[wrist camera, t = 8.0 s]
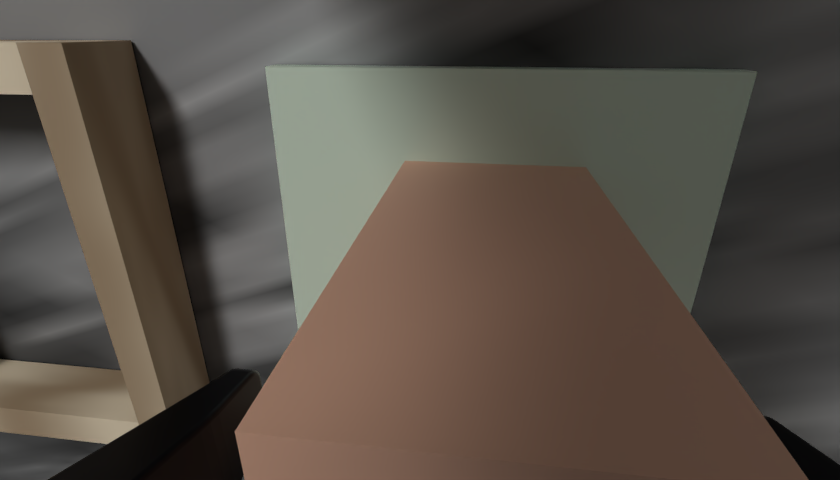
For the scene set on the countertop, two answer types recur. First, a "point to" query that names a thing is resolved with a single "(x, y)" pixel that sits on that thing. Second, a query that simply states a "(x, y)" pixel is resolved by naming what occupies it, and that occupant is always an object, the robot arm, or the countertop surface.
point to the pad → (505, 147)
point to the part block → (503, 349)
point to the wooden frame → (105, 246)
